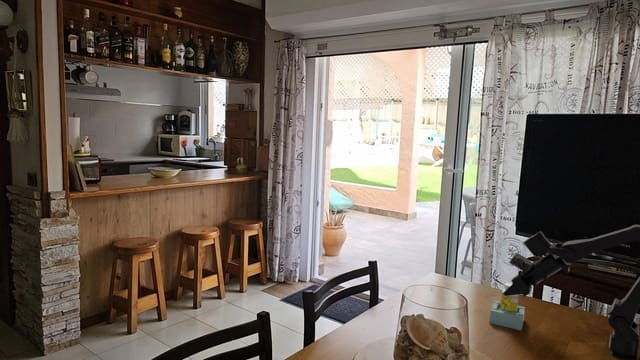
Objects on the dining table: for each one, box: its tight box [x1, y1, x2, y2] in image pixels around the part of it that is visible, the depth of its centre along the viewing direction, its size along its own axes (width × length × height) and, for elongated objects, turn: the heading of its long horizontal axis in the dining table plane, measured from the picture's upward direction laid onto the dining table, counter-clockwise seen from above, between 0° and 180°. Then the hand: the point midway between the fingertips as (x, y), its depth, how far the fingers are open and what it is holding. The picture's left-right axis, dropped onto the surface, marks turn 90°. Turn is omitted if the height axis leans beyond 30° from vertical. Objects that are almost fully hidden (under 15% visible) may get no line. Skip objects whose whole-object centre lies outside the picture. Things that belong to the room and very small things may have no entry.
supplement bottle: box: [500, 282, 520, 314], centre depth 148 cm, size 5×5×10 cm
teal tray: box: [489, 300, 526, 331], centre depth 149 cm, size 10×10×4 cm
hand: (506, 292), depth 149 cm, fingers closed on supplement bottle, 5 cm apart
